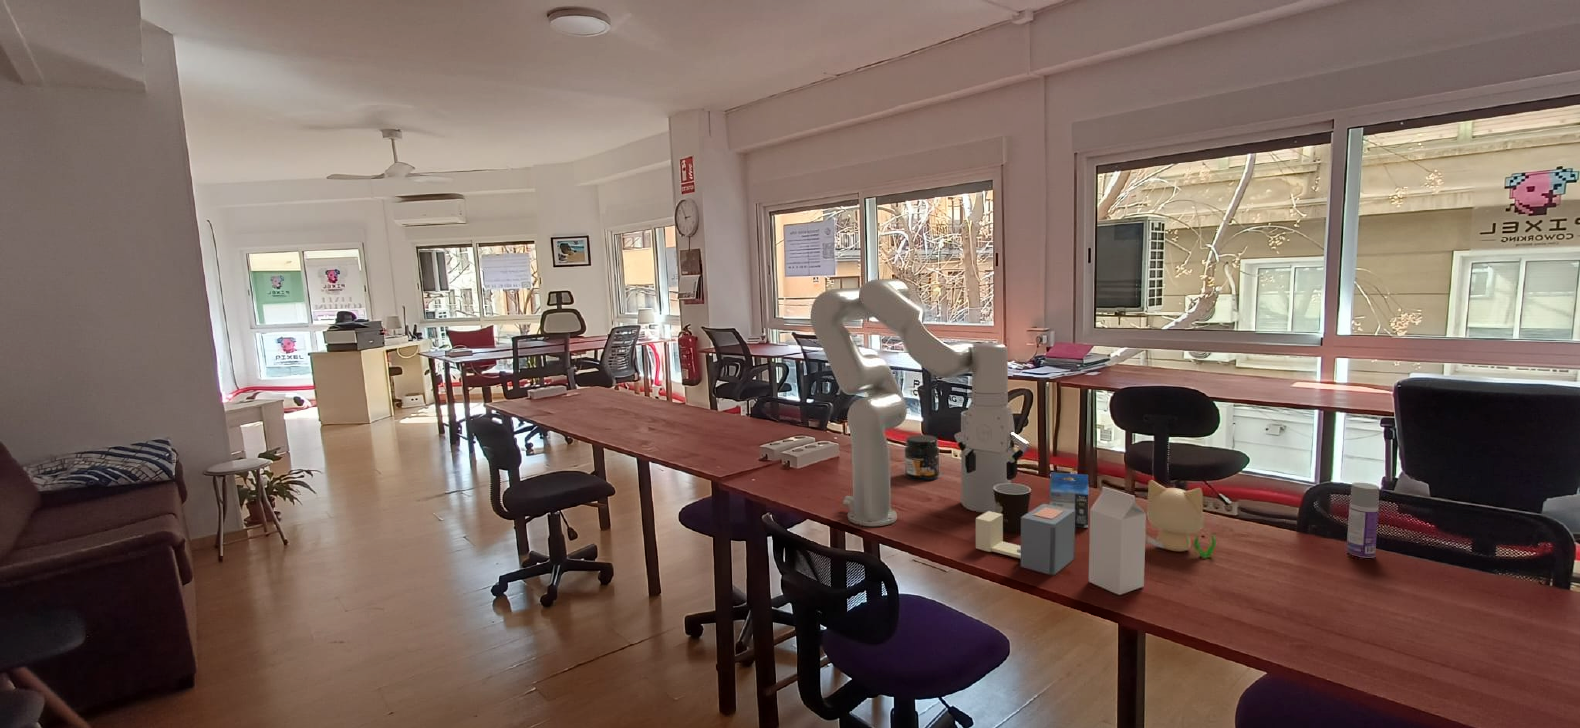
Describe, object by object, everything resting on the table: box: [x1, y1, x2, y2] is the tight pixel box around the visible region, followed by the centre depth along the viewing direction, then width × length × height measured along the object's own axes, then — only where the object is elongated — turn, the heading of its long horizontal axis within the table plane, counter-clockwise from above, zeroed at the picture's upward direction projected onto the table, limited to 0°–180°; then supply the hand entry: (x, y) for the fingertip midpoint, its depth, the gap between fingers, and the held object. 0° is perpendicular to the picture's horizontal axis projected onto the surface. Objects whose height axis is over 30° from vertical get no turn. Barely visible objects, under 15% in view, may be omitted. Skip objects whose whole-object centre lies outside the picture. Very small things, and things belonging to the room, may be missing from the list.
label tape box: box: [1048, 472, 1090, 529], centre depth 169 cm, size 9×4×12 cm, turn 68°
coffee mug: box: [993, 482, 1032, 535], centre depth 169 cm, size 12×9×10 cm
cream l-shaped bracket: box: [975, 511, 1021, 560], centre depth 152 cm, size 17×6×7 cm, turn 47°
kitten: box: [1145, 479, 1217, 559], centre depth 152 cm, size 15×10×15 cm, turn 47°
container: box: [1346, 482, 1380, 559], centre depth 146 cm, size 5×5×15 cm
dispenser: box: [1017, 503, 1076, 577], centre depth 148 cm, size 8×11×11 cm
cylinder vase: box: [960, 409, 1011, 514], centre depth 184 cm, size 12×12×25 cm
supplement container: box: [904, 434, 940, 481], centre depth 213 cm, size 10×10×12 cm
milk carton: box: [1088, 486, 1147, 596], centre depth 136 cm, size 7×7×19 cm
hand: (990, 475), depth 155 cm, fingers open, 9 cm apart
